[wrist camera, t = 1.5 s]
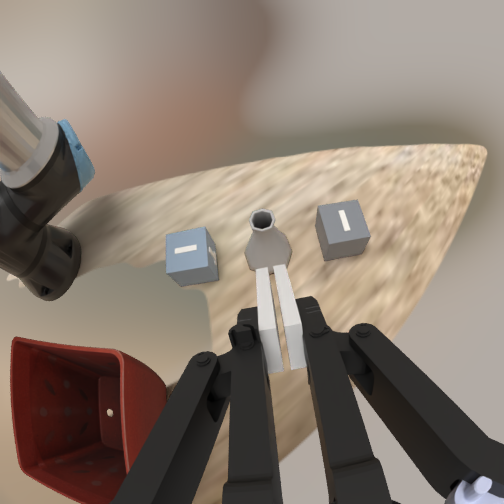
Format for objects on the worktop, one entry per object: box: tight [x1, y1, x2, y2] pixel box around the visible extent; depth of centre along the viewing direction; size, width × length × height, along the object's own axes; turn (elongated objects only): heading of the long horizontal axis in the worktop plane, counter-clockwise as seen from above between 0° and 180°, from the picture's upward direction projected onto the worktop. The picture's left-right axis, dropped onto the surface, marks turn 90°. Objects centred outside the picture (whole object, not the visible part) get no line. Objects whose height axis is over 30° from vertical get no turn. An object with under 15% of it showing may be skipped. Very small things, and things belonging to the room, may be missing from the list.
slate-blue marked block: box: [166, 227, 219, 286], centre depth 42 cm, size 6×6×6 cm
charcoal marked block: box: [315, 200, 371, 261], centre depth 40 cm, size 6×6×6 cm
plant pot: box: [10, 337, 167, 504], centre depth 28 cm, size 19×19×17 cm
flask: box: [245, 209, 292, 274], centre depth 39 cm, size 7×7×10 cm
